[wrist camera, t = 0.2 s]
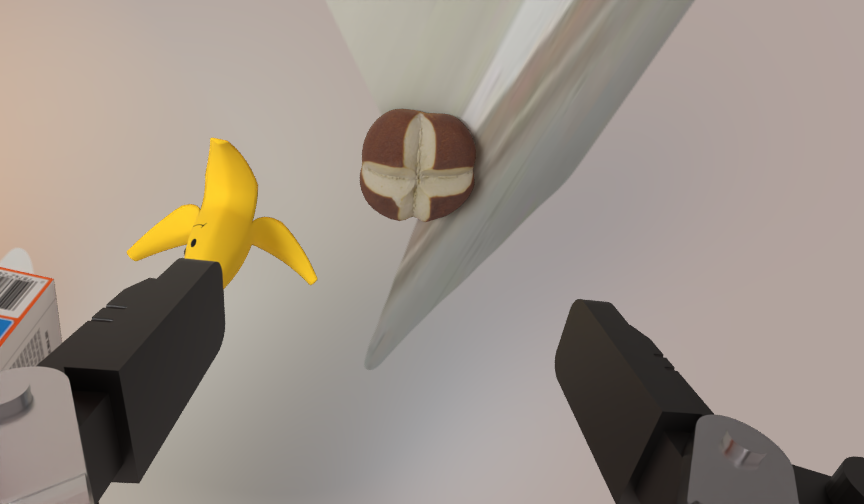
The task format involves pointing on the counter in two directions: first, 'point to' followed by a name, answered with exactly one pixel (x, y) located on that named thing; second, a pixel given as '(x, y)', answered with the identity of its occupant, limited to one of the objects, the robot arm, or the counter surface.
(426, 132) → the bread
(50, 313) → the pasta box
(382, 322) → the counter surface
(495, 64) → the counter surface
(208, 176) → the banana peel
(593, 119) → the counter surface
